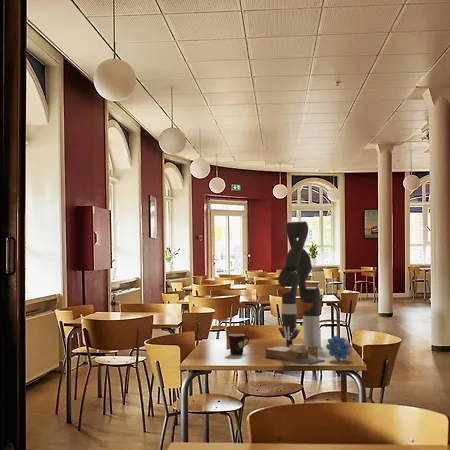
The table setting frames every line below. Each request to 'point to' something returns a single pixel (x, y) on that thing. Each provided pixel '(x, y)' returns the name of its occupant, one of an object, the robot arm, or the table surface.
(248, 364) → the table surface
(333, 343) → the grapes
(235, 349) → the coffee mug
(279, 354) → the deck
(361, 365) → the table surface
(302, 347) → the tan domed disc
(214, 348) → the table surface
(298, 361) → the slate board
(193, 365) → the table surface
